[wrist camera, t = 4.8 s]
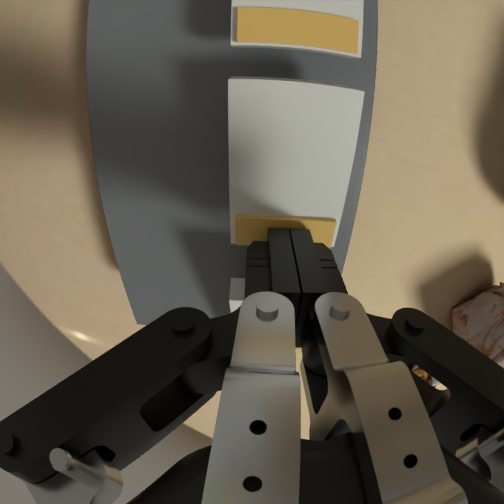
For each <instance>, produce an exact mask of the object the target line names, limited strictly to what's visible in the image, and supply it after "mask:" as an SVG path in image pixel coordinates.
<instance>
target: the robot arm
mask: <svg viewBox="0 0 504 504" xmlns="http://www.w3.org/2000/svg"><path fill="white" fill-rule="evenodd" d="M295 348H302V355H303V356H302V360H301V363H300V370H301V375H302V380H303V385H304V390H305V395H306V400H307V405H308V410H309V415H310V430H309V439H310V440H306V439H301V393H300V375H299V372H296V355H295ZM415 365H417V366H418V367H419V368H421V369H422V370H424V371H425V372H426V373H428V374H429V375H430V376H432V377H433V378H435V379H436V380H437V381H439V382H440V383H441V384H443V385H444V386H446V387H447V388H448V389H446V390H438V389H436V388H435V387H433V386H432V385H430V384H429V383H428V382H426V381H425V380H424V379H422V378H421V377H419V376H418V375H417V374H415V373H414V372H413V371H412V369H413V368H414V366H415ZM220 390H222V392H221V397H220V403H219V408H218V414H217V419H216V425H215V430H214V436H213V441H212V445H211V446H208V447H204V448H202V449H199V450H197V451H195V452H193V453H191V454H189V455H187V456H186V457H184V458H183V459H181V460H179V461H178V462H177V463H176V464H174V465H173V466H172V467H171V468H170V469H169V470H168V471H166V472H165V473H164V474H163V475H162V476H161V477H159V478H158V479H157V480H156V481H155V482H154V483H152V484H151V485H150V486H149V487H147V488H146V489H145V490H144V491H142V492H141V493H140V494H139V495H137V496H136V497H135V498H133V499H132V500H131V501H129V502H128V503H127V504H504V368H503V367H501V366H500V365H499V364H497V363H496V362H494V361H493V360H492V359H490V358H489V357H488V356H486V355H485V354H483V353H482V352H480V351H479V350H478V349H476V348H475V347H473V346H472V345H471V344H469V343H468V342H466V341H465V340H463V339H462V338H460V337H459V336H457V335H456V334H455V333H453V332H452V331H450V330H449V329H447V328H446V327H444V326H443V325H441V324H440V323H438V322H437V321H435V320H434V319H432V318H431V317H429V316H428V315H426V314H425V313H423V312H421V311H419V310H417V309H414V308H402V309H399V310H397V311H396V312H395V313H394V315H393V317H392V319H388V318H383V317H379V316H374V315H370V314H368V313H366V312H365V310H364V308H363V306H362V304H361V303H360V302H359V301H358V300H357V299H356V298H354V297H352V296H350V295H348V292H347V290H346V287H345V284H344V282H343V279H342V276H341V274H340V271H339V269H338V266H337V263H336V261H335V258H334V256H333V253H332V251H331V250H330V249H329V248H328V247H327V246H326V245H325V244H324V243H314V241H313V238H312V235H311V232H310V230H309V229H293V228H289V230H288V228H268V231H267V241H253V242H252V243H251V244H250V245H249V247H248V248H247V256H246V275H245V294H244V300H243V302H242V304H241V306H240V307H239V308H238V309H236V310H235V311H233V312H232V313H230V314H227V315H224V316H220V317H215V318H209V317H208V316H207V314H206V313H204V312H203V311H201V310H199V309H197V308H192V307H179V308H175V309H172V310H170V311H168V312H166V313H165V314H163V315H162V316H160V317H159V318H157V319H156V320H154V321H153V322H151V323H150V324H148V325H146V326H145V327H143V328H142V329H140V330H139V331H137V332H136V333H134V334H133V335H131V336H130V337H128V338H127V339H125V340H124V341H122V342H121V343H119V344H118V345H116V346H115V347H113V348H112V349H110V350H109V351H107V352H106V353H104V354H103V355H101V356H100V357H98V358H97V359H95V360H93V361H92V362H90V363H89V364H87V365H86V366H84V367H83V368H81V369H80V370H78V371H77V372H75V373H74V374H72V375H71V376H69V377H68V378H66V379H65V380H63V381H62V382H60V383H58V384H57V385H56V386H54V387H53V388H51V389H49V390H48V391H46V392H45V393H43V394H42V395H40V396H39V397H37V398H36V399H34V400H33V401H31V402H29V403H28V404H26V405H25V406H23V407H22V408H20V409H19V410H17V411H16V412H14V413H13V414H11V415H10V416H8V417H7V418H5V419H3V420H2V421H0V467H1V468H2V469H3V470H5V471H7V472H9V473H11V474H13V475H14V476H16V477H18V478H20V479H21V480H23V481H24V482H25V484H26V485H27V487H28V489H29V491H30V493H31V494H32V496H33V498H34V499H35V501H36V503H37V504H112V503H113V502H114V501H115V500H116V499H117V498H118V497H119V496H120V494H121V492H122V488H123V479H122V476H121V473H120V471H121V470H122V469H124V468H125V467H126V466H128V465H129V464H131V463H132V462H133V461H135V460H136V459H137V458H139V457H140V456H141V455H142V454H144V453H145V452H146V451H148V450H149V449H151V448H152V447H153V446H154V445H156V444H157V443H158V442H160V441H161V440H162V439H163V438H165V437H166V436H167V435H168V434H170V433H171V432H172V431H173V430H174V429H176V428H177V427H178V426H179V425H181V424H182V423H183V422H184V421H185V420H187V419H188V418H189V417H190V416H191V415H192V414H194V413H195V412H196V411H197V410H198V409H199V408H201V407H202V406H203V405H204V404H205V403H206V402H207V401H209V400H210V399H211V398H212V397H213V396H214V395H215V394H216V392H217V391H220Z"/></svg>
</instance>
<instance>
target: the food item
mask: <svg viewBox="0 0 504 504" xmlns="http://www.w3.org/2000/svg"><path fill="white" fill-rule="evenodd" d="M451 316H452V332H453V333H455V334H456V335H457V336H459V337H460V338H462V339H463V340H465V341H466V342H468V343H469V344H471V345H472V346H473V347H475V348H476V349H478V350H479V351H480V352H482V353H483V354H485V355H486V356H488V357H489V358H490V359H492V360H493V361H494V362H496V363H497V364H499V365H500V366H501V367H503V368H504V283H502V282H500V286H497V285H494V286H493V287H491V288H490V289H487V290H484V291H483V292H481V293H479V294H477V295H476V296H474V297H472V298H470V299H468V300H467V301H465V302H463V303H462V304H460V305H458V306H457V307H455V308H453V309H452V312H451Z"/></svg>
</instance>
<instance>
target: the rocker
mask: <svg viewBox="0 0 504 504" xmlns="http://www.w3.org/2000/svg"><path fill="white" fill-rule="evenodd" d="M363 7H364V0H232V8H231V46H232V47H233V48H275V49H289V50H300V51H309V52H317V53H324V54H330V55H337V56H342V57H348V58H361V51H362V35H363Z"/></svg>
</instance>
